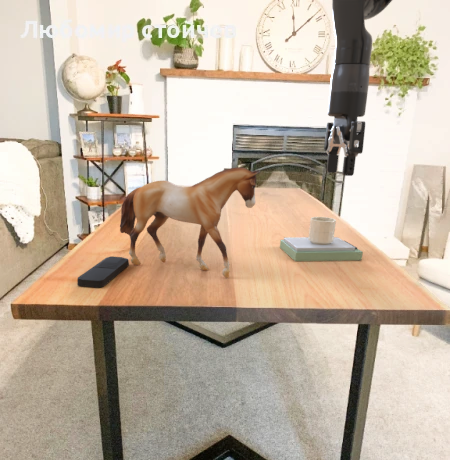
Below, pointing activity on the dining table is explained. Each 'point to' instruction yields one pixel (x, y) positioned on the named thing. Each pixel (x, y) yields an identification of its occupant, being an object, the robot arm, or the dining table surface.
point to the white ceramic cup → (321, 230)
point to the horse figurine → (186, 208)
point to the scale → (319, 250)
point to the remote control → (103, 272)
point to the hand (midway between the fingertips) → (339, 173)
